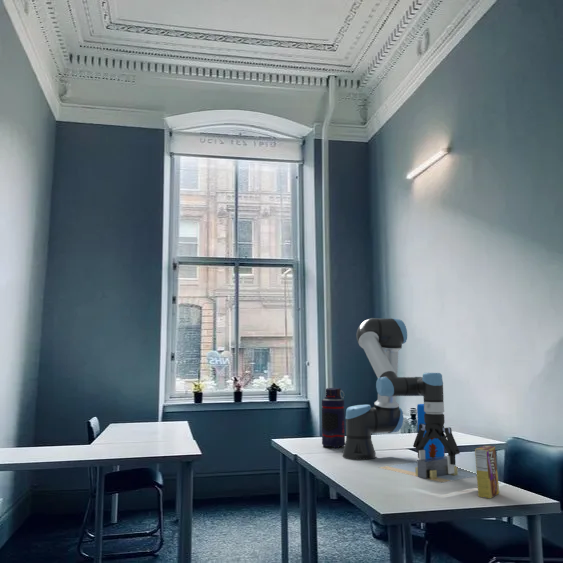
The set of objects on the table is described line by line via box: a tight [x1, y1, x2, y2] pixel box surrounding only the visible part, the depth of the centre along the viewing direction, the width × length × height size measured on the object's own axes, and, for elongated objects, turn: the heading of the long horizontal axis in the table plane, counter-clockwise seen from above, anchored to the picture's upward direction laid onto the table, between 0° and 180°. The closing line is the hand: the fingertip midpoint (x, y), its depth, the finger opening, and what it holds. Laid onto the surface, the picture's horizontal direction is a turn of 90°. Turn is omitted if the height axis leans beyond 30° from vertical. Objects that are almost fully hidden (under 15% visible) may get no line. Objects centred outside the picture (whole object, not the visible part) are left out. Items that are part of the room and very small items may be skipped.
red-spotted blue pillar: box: [416, 403, 446, 459], centre depth 228 cm, size 11×11×25 cm
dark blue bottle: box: [321, 387, 346, 449], centre depth 274 cm, size 14×12×30 cm
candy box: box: [474, 445, 500, 499], centre depth 173 cm, size 9×4×15 cm, turn 140°
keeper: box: [415, 465, 459, 480], centre depth 198 cm, size 8×14×3 cm, turn 124°
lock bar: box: [416, 455, 450, 480], centre depth 198 cm, size 16×4×6 cm, turn 124°
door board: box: [378, 461, 477, 483], centre depth 205 cm, size 32×22×1 cm
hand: (436, 470), depth 198 cm, fingers open, 13 cm apart
